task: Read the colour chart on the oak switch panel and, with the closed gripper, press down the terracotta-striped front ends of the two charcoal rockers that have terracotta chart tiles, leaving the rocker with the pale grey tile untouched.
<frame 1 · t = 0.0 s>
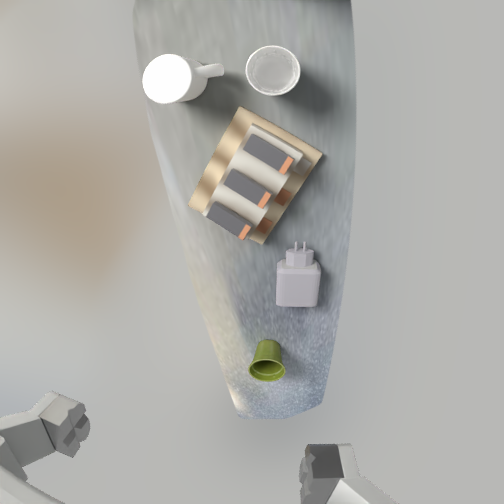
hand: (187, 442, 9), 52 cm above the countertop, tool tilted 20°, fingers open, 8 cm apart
rocker 2: (248, 188, 51), point 7 cm above the countertop, hinge at 10.0°
mug: (195, 77, 48), on the countertop
white cup: (274, 73, 47), on the countertop
rocker 1: (268, 153, 48), point 7 cm above the countertop, hinge at 10.0°
plant pot: (268, 345, 80), on the countertop
rocker 3: (229, 220, 54), point 7 cm above the countertop, hinge at 10.0°
switch panel: (252, 177, 57), on the countertop
charger: (298, 266, 67), on the countertop
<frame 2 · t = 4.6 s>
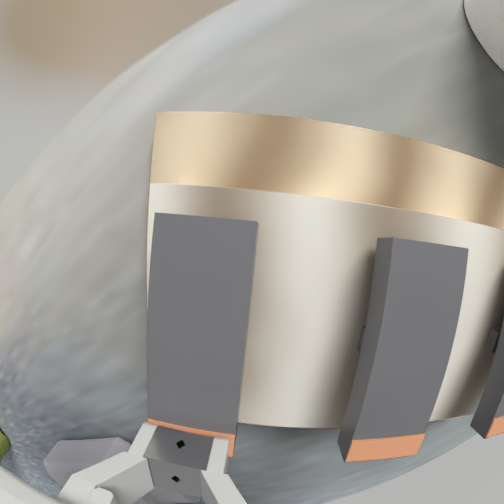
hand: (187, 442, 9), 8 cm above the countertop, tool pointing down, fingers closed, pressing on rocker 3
rocker 2: (405, 359, 9), point 7 cm above the countertop, hinge at 10.0°
rocker 3: (197, 345, 9), point 7 cm above the countertop, hinge at 9.8°, touching gripper
switch panel: (357, 295, 16), on the countertop
charger: (141, 465, 21), on the countertop
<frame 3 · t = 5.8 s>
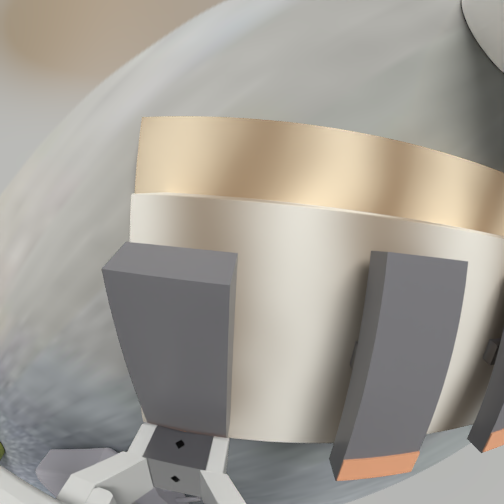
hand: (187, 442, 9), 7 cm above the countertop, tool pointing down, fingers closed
rocker 2: (399, 378, 8), point 7 cm above the countertop, hinge at 10.0°
rocker 3: (181, 372, 9), point 7 cm above the countertop, hinge at -16.5°
switch panel: (350, 306, 15), on the countertop
charger: (131, 474, 20), on the countertop
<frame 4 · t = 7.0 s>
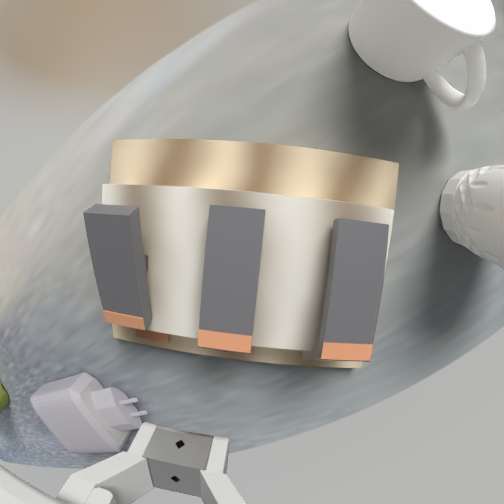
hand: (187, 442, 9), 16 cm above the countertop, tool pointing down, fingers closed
rocker 2: (231, 279, 17), point 7 cm above the countertop, hinge at 10.0°
mug: (404, 59, 20), on the countertop
white cup: (466, 208, 22), on the countertop
rocker 1: (353, 291, 17), point 7 cm above the countertop, hinge at 10.0°
rocker 3: (119, 270, 17), point 7 cm above the countertop, hinge at -16.1°
switch panel: (243, 255, 24), on the countertop
charger: (103, 401, 29), on the countertop
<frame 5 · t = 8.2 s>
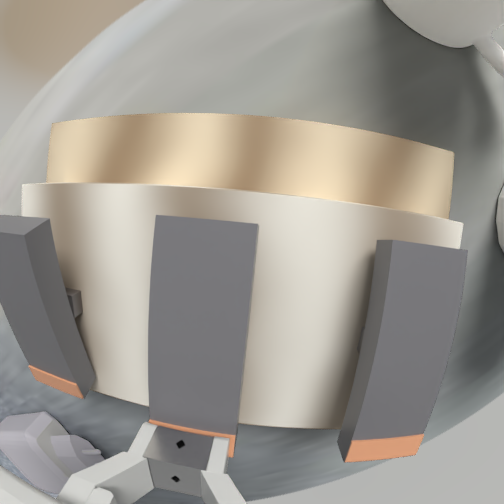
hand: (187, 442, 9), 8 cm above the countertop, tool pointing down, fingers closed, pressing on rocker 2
rocker 2: (198, 346, 9), point 7 cm above the countertop, hinge at 9.9°, touching gripper
mug: (445, 20, 12), on the countertop
rocker 1: (404, 360, 9), point 7 cm above the countertop, hinge at 10.0°
rocker 3: (37, 316, 10), point 7 cm above the countertop, hinge at -14.6°
switch panel: (228, 284, 16), on the countertop
charger: (69, 441, 21), on the countertop
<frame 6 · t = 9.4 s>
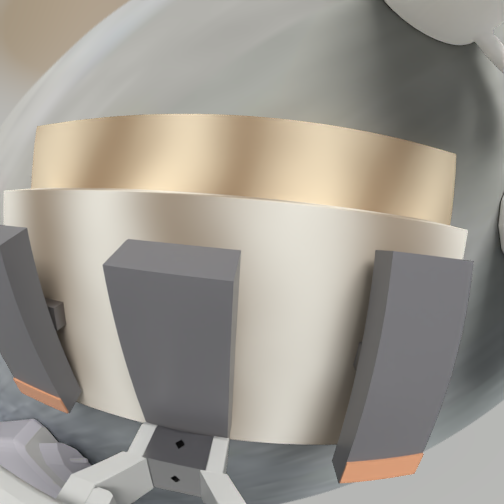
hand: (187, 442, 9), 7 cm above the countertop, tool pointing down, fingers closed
rocker 2: (182, 373, 9), point 7 cm above the countertop, hinge at -15.3°
mug: (445, 17, 11), on the countertop
rocker 1: (404, 379, 8), point 7 cm above the countertop, hinge at 10.0°
rocker 3: (18, 328, 9), point 7 cm above the countertop, hinge at -14.1°
switch panel: (218, 293, 15), on the countertop
charger: (59, 449, 20), on the countertop
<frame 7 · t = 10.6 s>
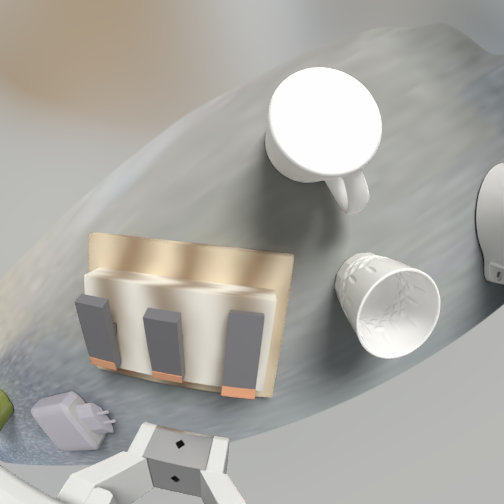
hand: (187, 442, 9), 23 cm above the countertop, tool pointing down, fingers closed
rocker 2: (165, 348, 26), point 7 cm above the countertop, hinge at -16.7°
mug: (315, 158, 30), on the countertop
white cup: (362, 281, 32), on the countertop
rocker 1: (242, 356, 26), point 7 cm above the countertop, hinge at 10.0°
plant pot: (3, 398, 38), on the countertop
rocker 3: (98, 334, 26), point 7 cm above the countertop, hinge at -13.9°
switch panel: (182, 317, 33), on the countertop
charger: (85, 412, 37), on the countertop
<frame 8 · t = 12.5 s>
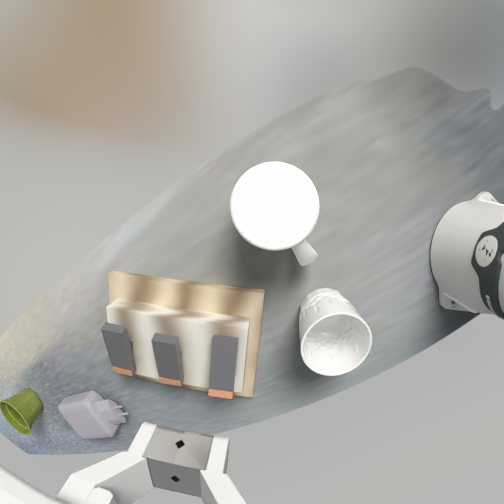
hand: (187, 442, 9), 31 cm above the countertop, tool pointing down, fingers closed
rocker 2: (168, 361, 36), point 7 cm above the countertop, hinge at -14.9°
mug: (281, 214, 38), on the countertop
white cup: (323, 310, 40), on the countertop
rocker 1: (223, 368, 35), point 7 cm above the countertop, hinge at 10.0°
plant pot: (33, 398, 50), on the countertop
rocker 3: (119, 350, 36), point 7 cm above the countertop, hinge at -13.8°
switch panel: (182, 335, 42), on the countertop
charger: (103, 407, 48), on the countertop
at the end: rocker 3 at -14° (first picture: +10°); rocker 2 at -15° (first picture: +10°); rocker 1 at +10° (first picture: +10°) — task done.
